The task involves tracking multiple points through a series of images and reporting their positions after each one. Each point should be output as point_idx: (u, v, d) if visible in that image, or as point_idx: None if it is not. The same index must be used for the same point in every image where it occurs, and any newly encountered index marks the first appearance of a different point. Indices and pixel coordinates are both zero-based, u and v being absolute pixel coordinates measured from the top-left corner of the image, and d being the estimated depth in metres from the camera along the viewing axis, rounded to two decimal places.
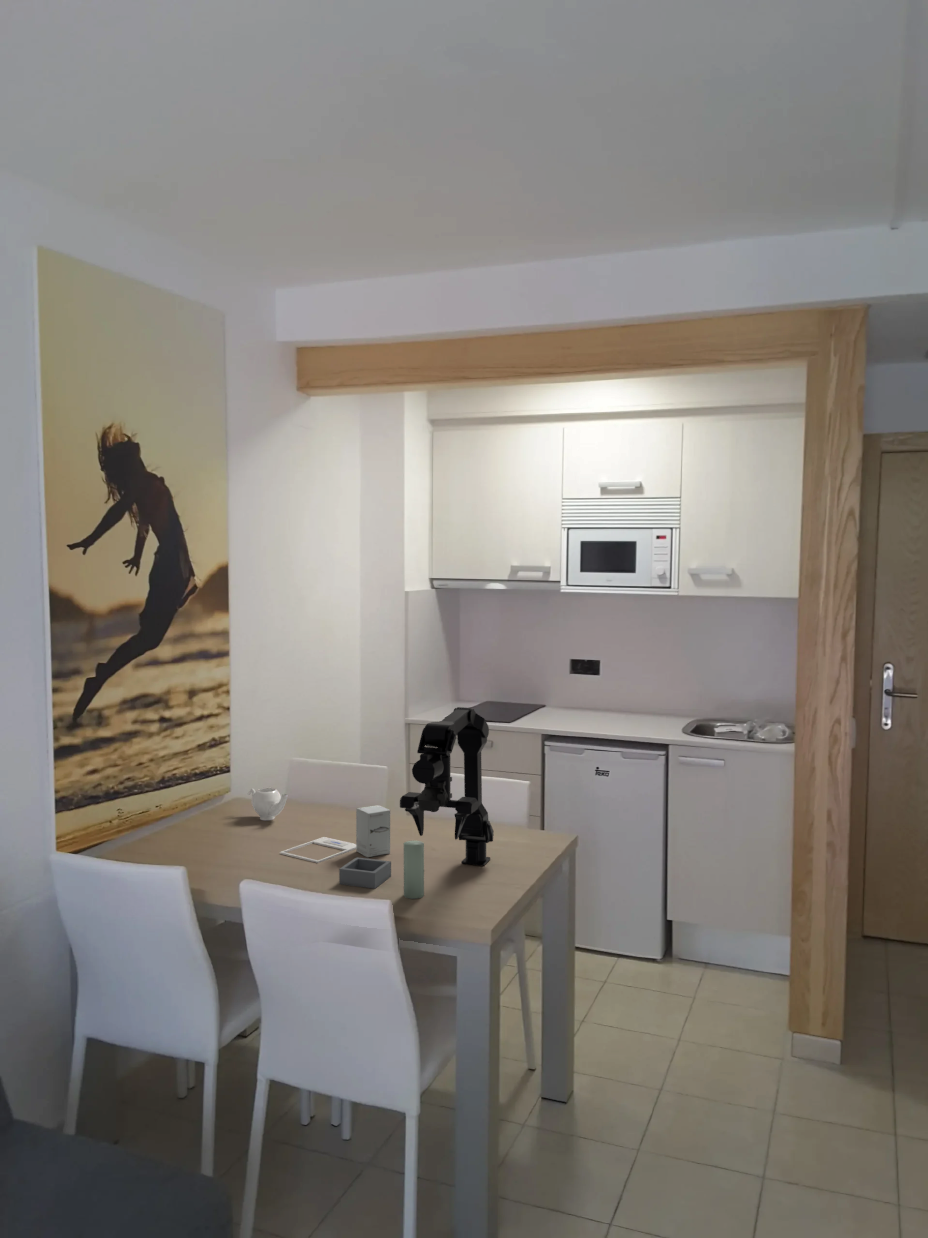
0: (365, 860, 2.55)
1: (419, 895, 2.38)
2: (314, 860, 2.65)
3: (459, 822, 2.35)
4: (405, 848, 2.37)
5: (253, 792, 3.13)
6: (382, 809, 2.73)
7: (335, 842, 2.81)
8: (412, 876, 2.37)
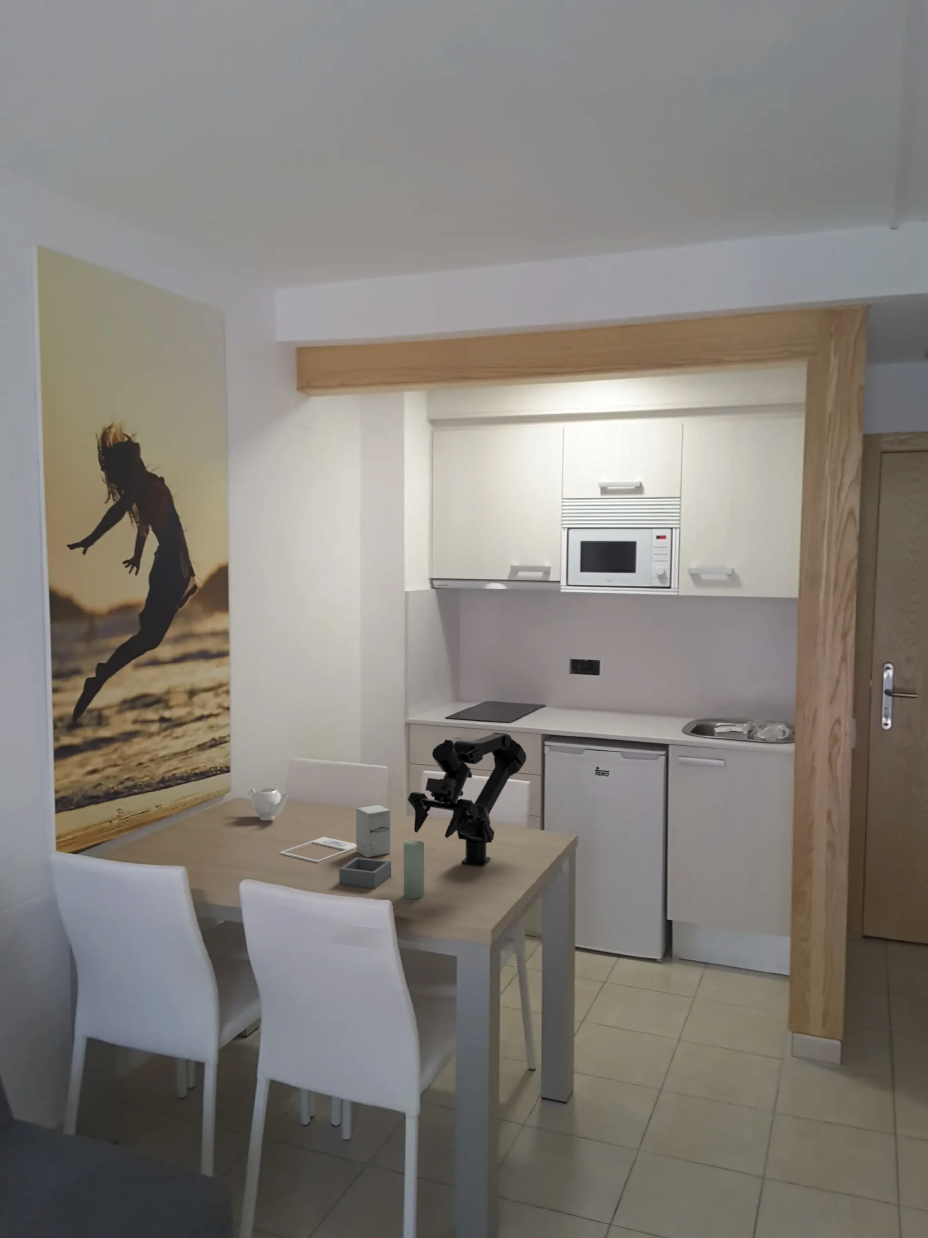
0: (365, 860, 2.55)
1: (419, 895, 2.38)
2: (314, 860, 2.65)
3: (455, 819, 2.44)
4: (405, 848, 2.37)
5: (253, 792, 3.13)
6: (382, 809, 2.73)
7: (335, 842, 2.81)
8: (412, 876, 2.37)
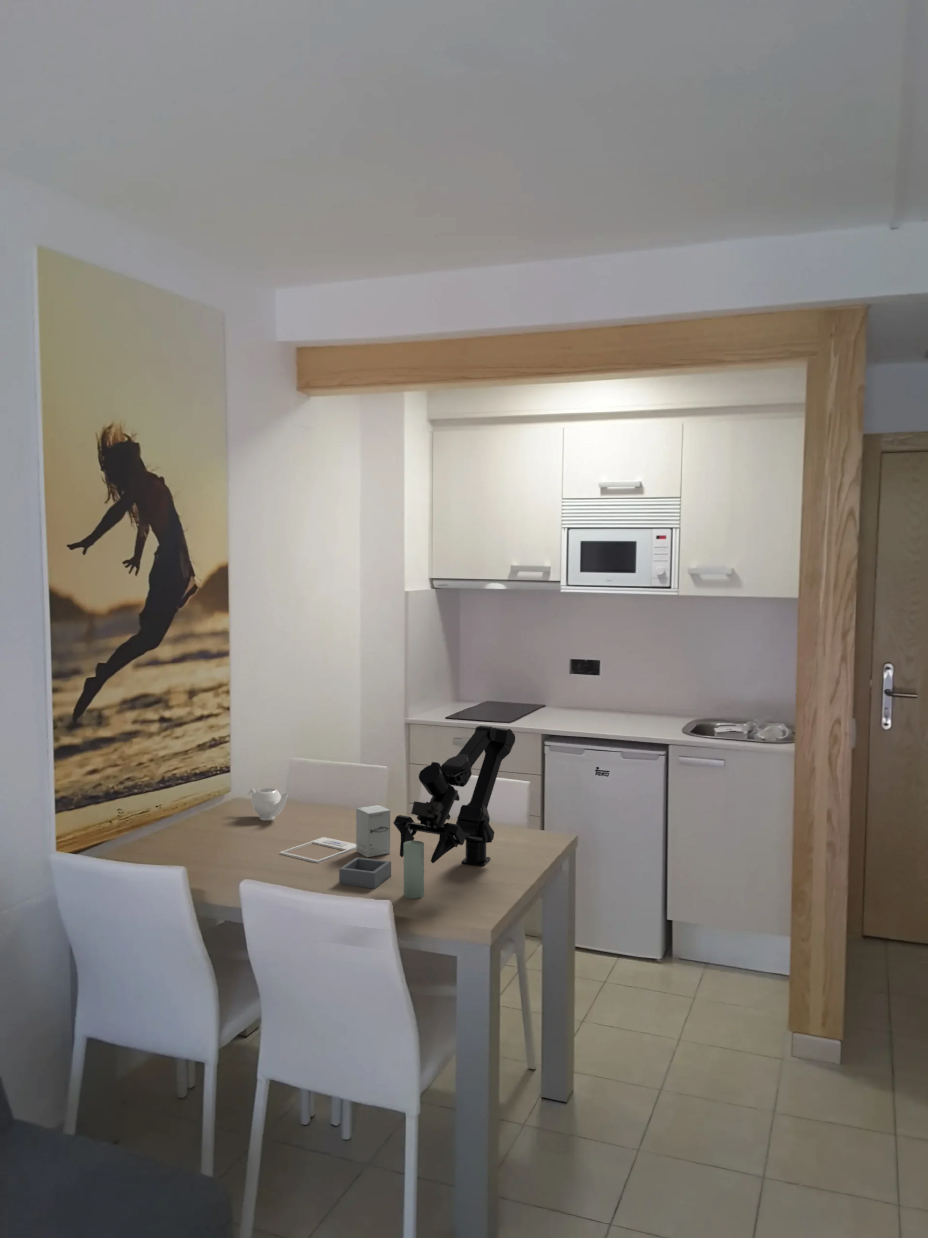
0: (365, 860, 2.55)
1: (419, 895, 2.38)
2: (314, 860, 2.65)
3: (441, 843, 2.39)
4: (405, 848, 2.37)
5: (253, 792, 3.13)
6: (382, 809, 2.73)
7: (335, 842, 2.81)
8: (412, 876, 2.37)
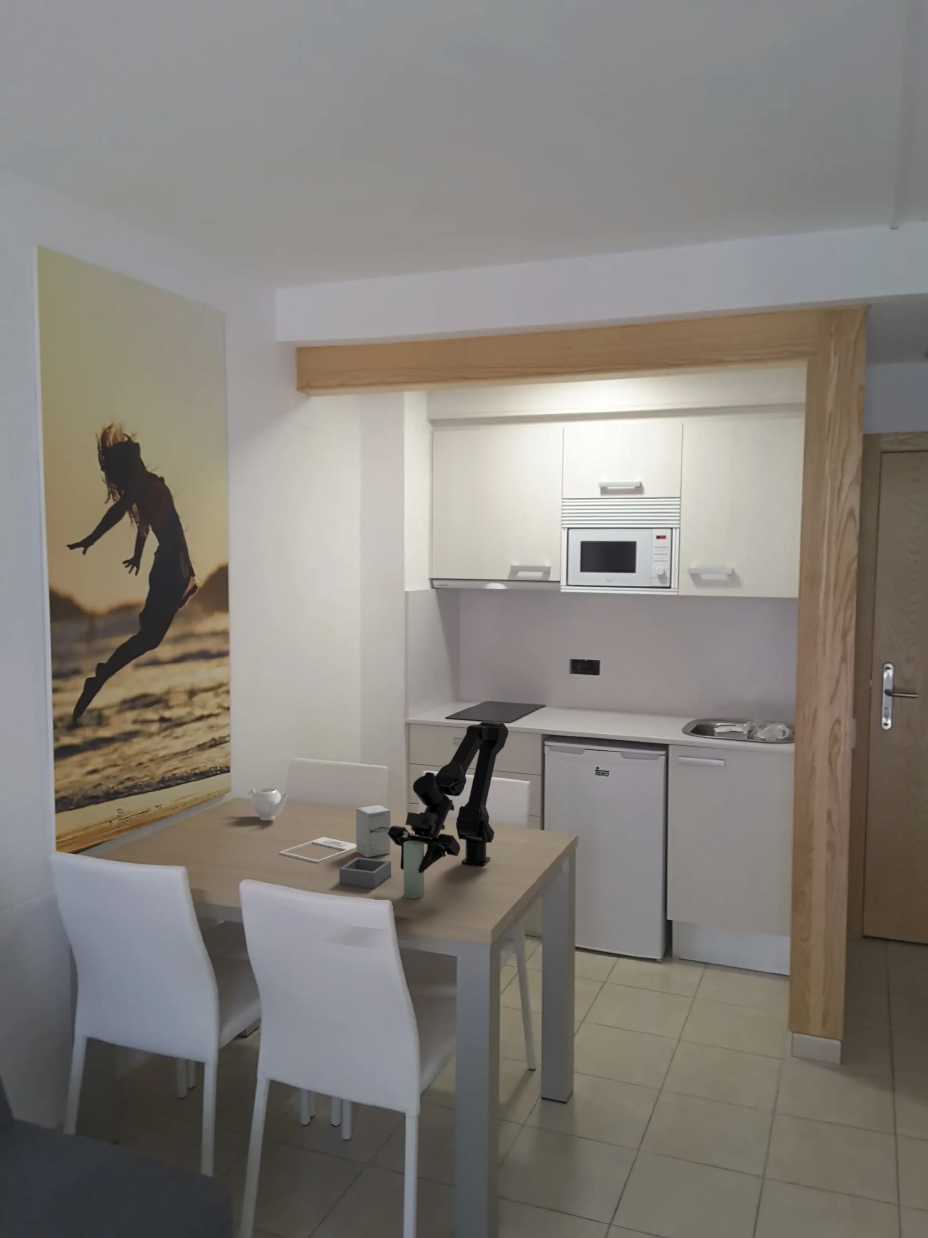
0: (365, 860, 2.55)
1: (419, 895, 2.37)
2: (314, 860, 2.65)
3: (429, 853, 2.38)
4: (405, 848, 2.37)
5: (253, 792, 3.13)
6: (382, 809, 2.73)
7: (335, 842, 2.81)
8: (412, 876, 2.37)
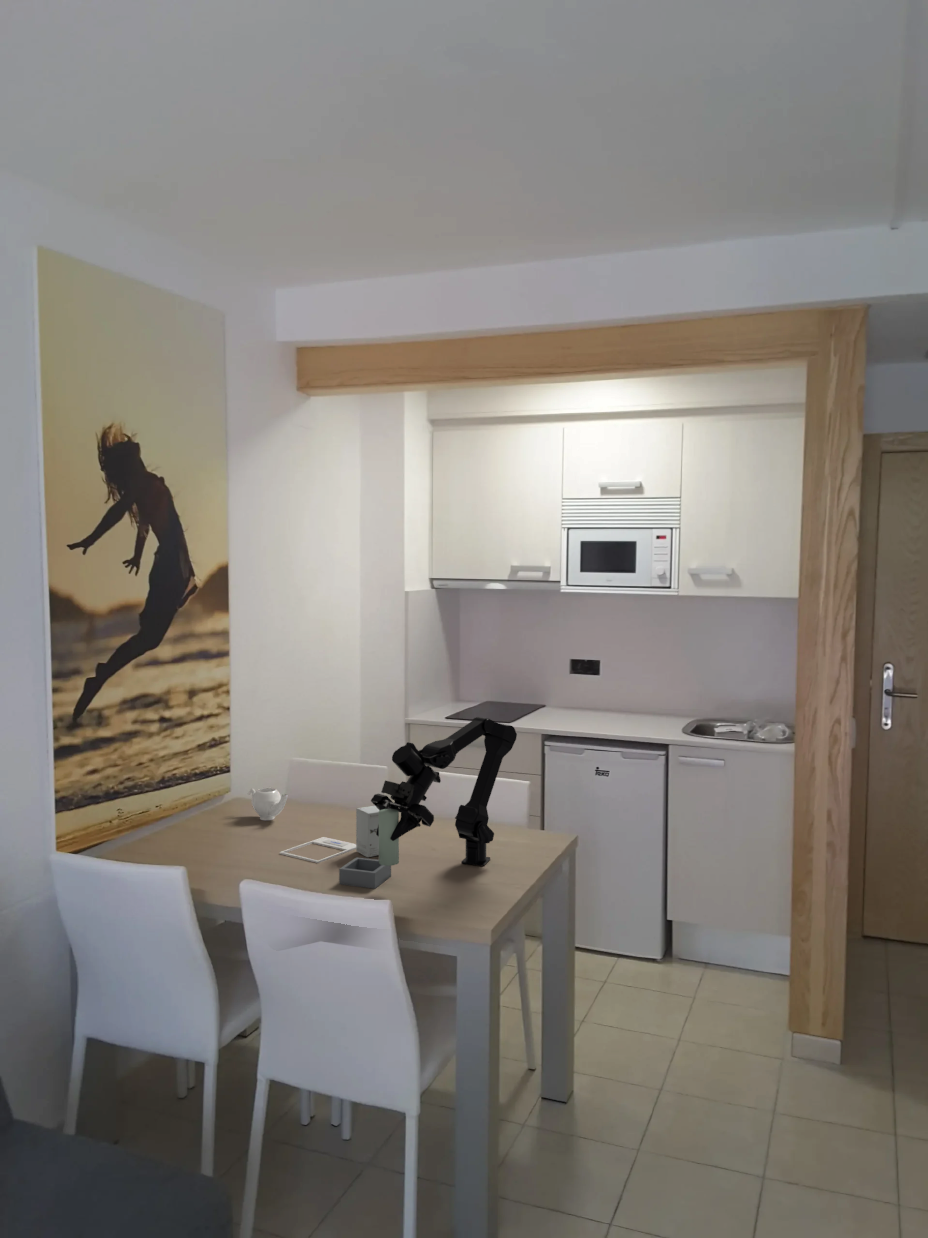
0: (365, 860, 2.55)
1: (391, 862, 2.41)
2: (314, 860, 2.65)
3: (401, 822, 2.40)
4: (379, 815, 2.41)
5: (253, 792, 3.13)
6: None
7: (335, 842, 2.81)
8: (384, 843, 2.40)
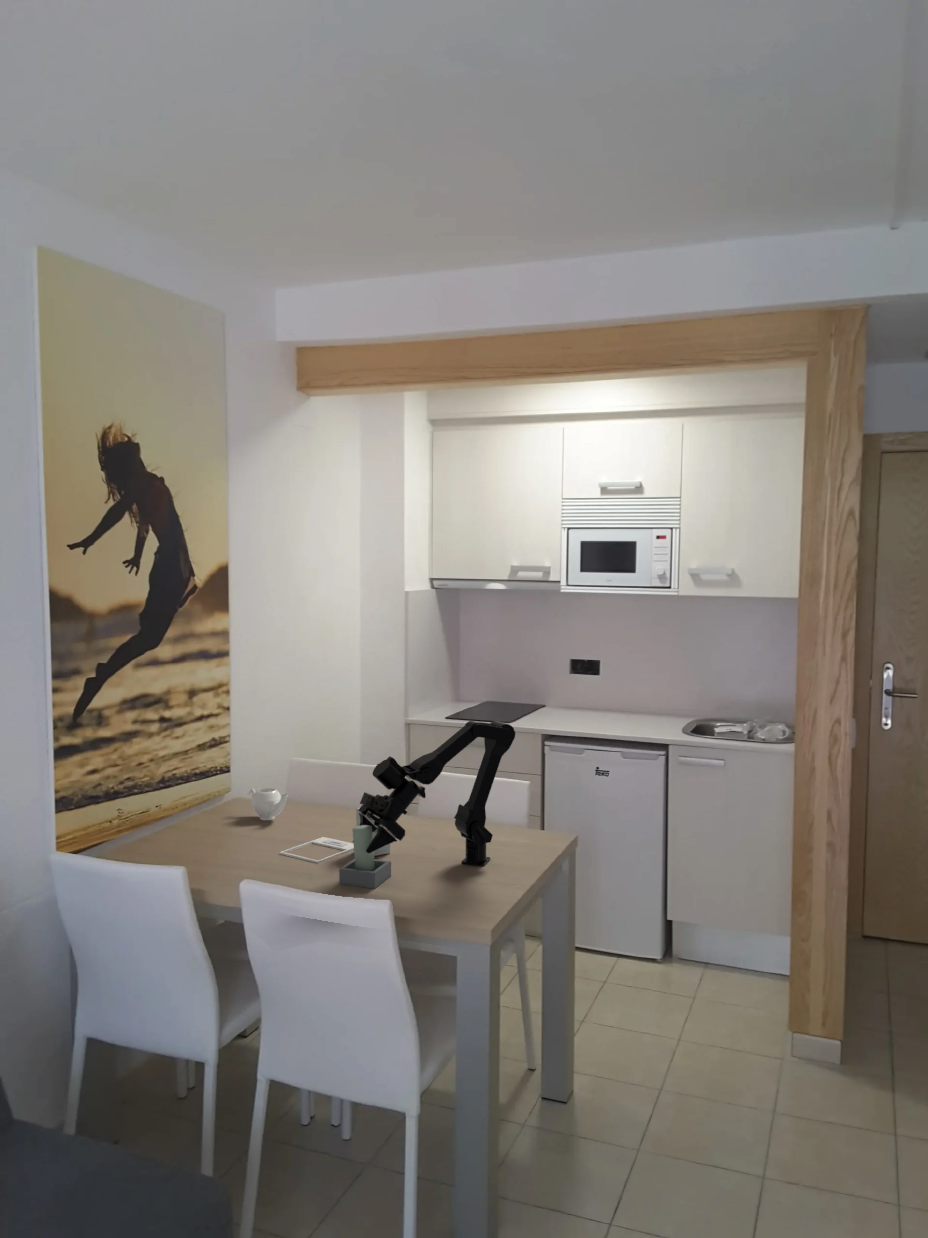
0: None
1: None
2: (314, 860, 2.65)
3: (377, 836, 2.45)
4: None
5: (253, 792, 3.13)
6: None
7: (335, 842, 2.81)
8: (357, 859, 2.48)
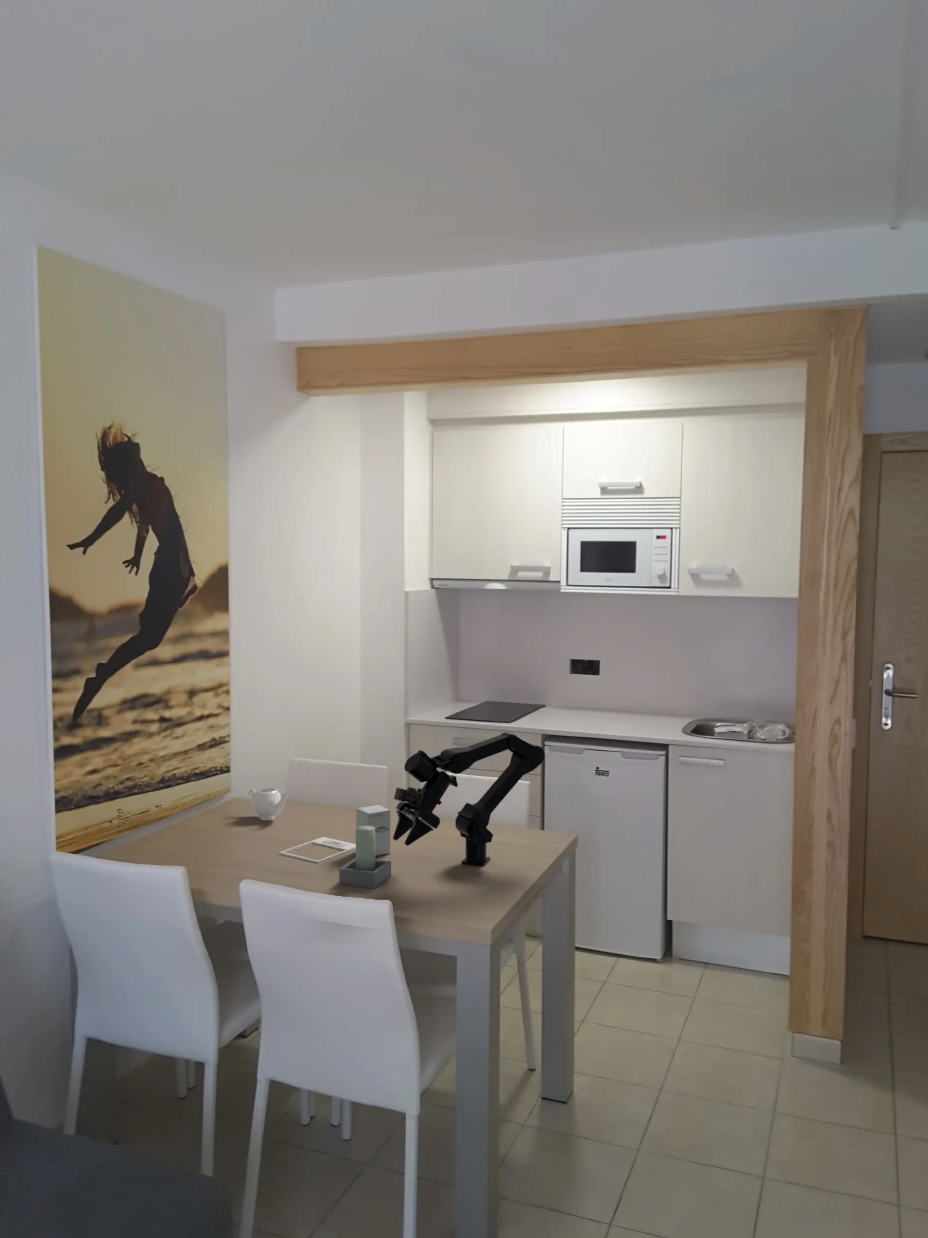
0: None
1: None
2: (314, 860, 2.65)
3: (413, 827, 2.49)
4: None
5: (253, 792, 3.13)
6: (382, 809, 2.73)
7: (335, 842, 2.81)
8: (358, 859, 2.48)
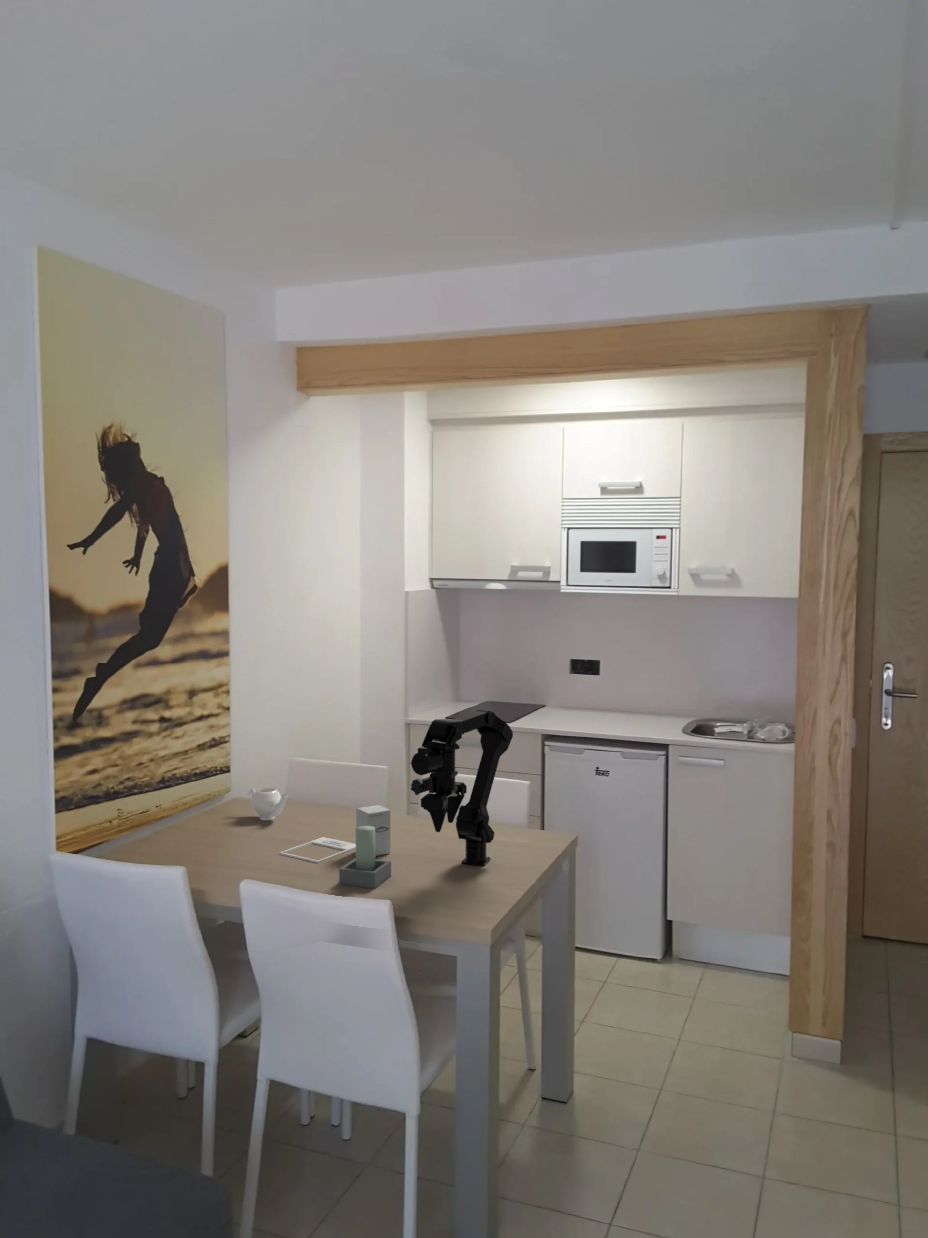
0: None
1: None
2: (314, 860, 2.65)
3: None
4: None
5: (253, 792, 3.13)
6: (382, 809, 2.73)
7: (334, 842, 2.81)
8: (358, 859, 2.48)
